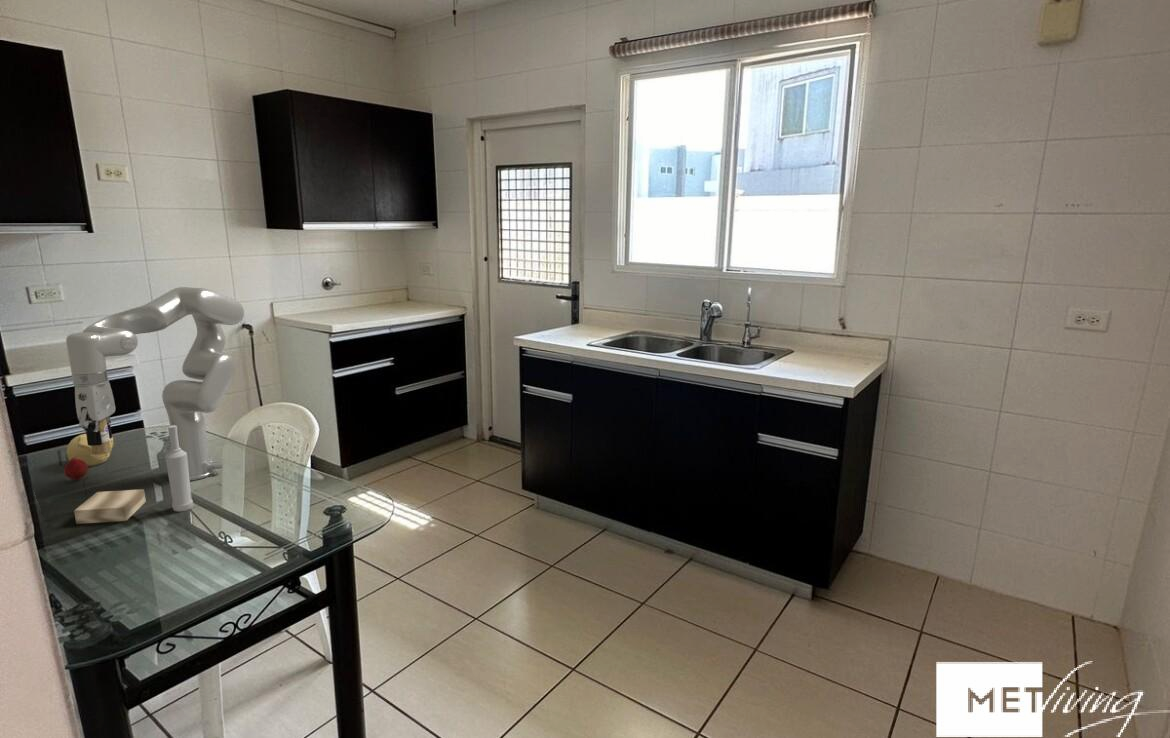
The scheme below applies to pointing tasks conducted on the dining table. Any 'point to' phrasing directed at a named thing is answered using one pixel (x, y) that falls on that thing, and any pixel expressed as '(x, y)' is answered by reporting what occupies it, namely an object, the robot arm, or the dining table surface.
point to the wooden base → (110, 506)
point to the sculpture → (85, 451)
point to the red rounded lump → (75, 468)
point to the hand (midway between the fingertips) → (100, 441)
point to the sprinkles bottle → (105, 439)
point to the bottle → (178, 474)
